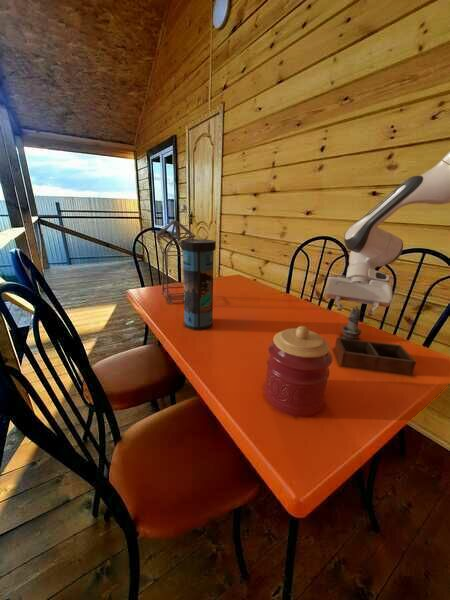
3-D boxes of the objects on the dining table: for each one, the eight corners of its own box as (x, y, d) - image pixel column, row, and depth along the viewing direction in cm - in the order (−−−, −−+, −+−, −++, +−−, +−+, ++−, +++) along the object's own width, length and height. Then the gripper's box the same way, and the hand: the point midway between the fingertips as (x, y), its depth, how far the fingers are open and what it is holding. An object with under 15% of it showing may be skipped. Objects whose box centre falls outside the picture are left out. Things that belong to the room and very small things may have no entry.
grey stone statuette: (362, 340, 85) (370, 307, 81) (353, 345, 81) (360, 310, 77) (346, 333, 89) (353, 301, 85) (336, 337, 86) (343, 304, 82)
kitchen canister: (280, 373, 66) (288, 310, 60) (331, 395, 58) (345, 326, 53) (252, 399, 57) (258, 327, 51) (309, 430, 49) (323, 350, 43)
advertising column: (191, 334, 85) (189, 243, 75) (178, 322, 94) (175, 239, 84) (219, 327, 90) (222, 242, 81) (205, 316, 99) (205, 238, 89)
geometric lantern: (196, 306, 110) (196, 222, 99) (159, 308, 107) (154, 221, 95) (192, 295, 125) (191, 220, 113) (159, 296, 121) (155, 219, 109)
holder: (396, 358, 75) (400, 344, 73) (411, 377, 66) (416, 362, 65) (334, 350, 78) (336, 337, 76) (340, 367, 69) (343, 352, 68)
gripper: (329, 269, 91) (322, 302, 86) (395, 276, 83) (392, 314, 78) (327, 278, 96) (321, 310, 91) (390, 286, 88) (387, 322, 83)
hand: (354, 312), depth 84 cm, fingers open, 8 cm apart
